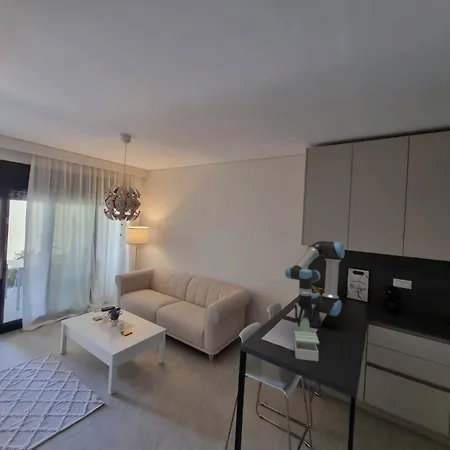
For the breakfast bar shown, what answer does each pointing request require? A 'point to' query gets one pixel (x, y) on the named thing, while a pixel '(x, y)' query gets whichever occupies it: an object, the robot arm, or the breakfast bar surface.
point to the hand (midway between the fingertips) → (304, 331)
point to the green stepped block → (305, 333)
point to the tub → (306, 351)
